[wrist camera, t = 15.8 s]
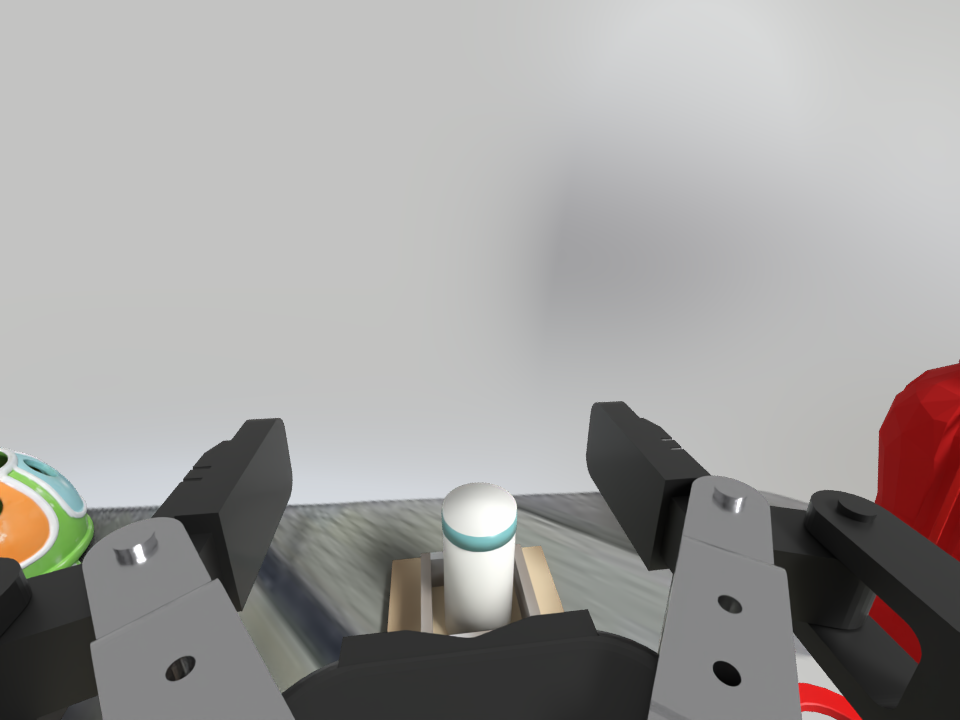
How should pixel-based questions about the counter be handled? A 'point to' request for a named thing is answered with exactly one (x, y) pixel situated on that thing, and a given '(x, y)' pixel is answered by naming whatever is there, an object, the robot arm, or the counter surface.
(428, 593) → the wooden square holder
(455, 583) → the cylindrical container
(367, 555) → the counter surface
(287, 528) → the counter surface
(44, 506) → the turtle holder
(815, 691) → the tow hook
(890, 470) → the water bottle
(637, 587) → the counter surface
